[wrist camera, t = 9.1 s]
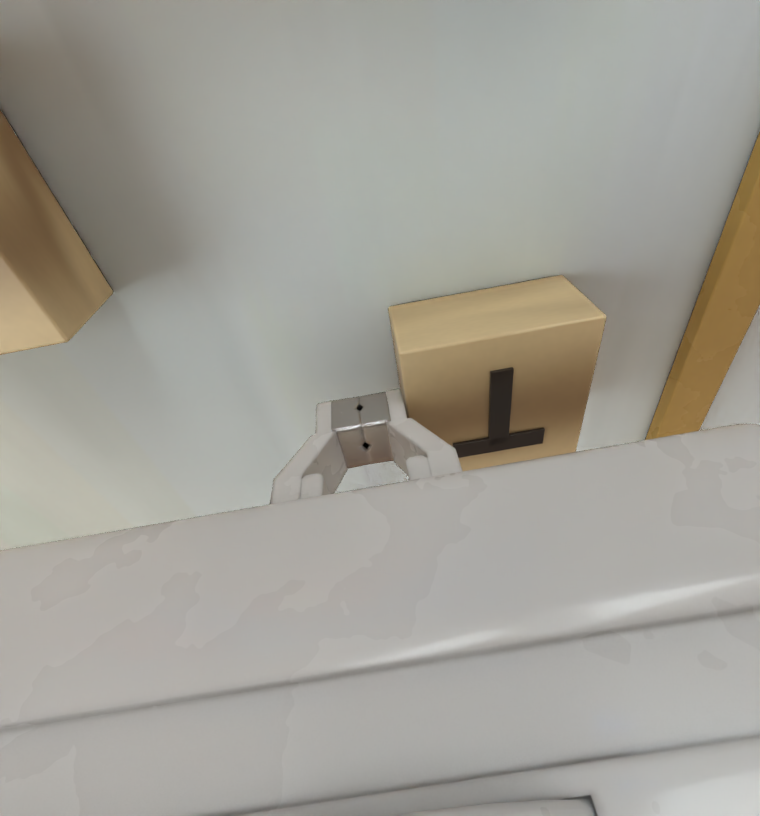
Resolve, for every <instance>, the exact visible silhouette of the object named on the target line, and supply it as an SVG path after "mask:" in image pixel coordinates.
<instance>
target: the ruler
mask: <svg viewBox="0 0 760 816" xmlns="http://www.w3.org/2000/svg"><path fill="white" fill-rule="evenodd" d="M759 305H760V132H759V134H758V137H757V140H756V143H755V145H754V148H753V151H752V153H751V156H750V159H749V161H748V164H747V167H746V169H745V172H744V175H743V178H742V180H741V183H740V186H739V188H738V191H737V194H736V196H735V199H734V202H733V204H732V207H731V210H730V213H729V215H728V218H727V221H726V223H725V226H724V229H723V231H722V234H721V237H720V239H719V242H718V245H717V248H716V250H715V253H714V256H713V258H712V261H711V264H710V266H709V269H708V272H707V274H706V277H705V280H704V282H703V285H702V288H701V291H700V293H699V296H698V299H697V301H696V304H695V307H694V309H693V312H692V315H691V317H690V320H689V323H688V326H687V328H686V331H685V334H684V336H683V339H682V342H681V344H680V347H679V350H678V352H677V355H676V358H675V361H674V363H673V366H672V369H671V371H670V374H669V377H668V379H667V382H666V385H665V387H664V390H663V393H662V396H661V398H660V401H659V404H658V406H657V409H656V412H655V414H654V417H653V420H652V422H651V425H650V428H649V431H648V433H647V436H646V439H645V440H648V439H654V438H660V437H666V436H671V435H677V434H683V433H689V432H694V431H699V429H700V427H701V425H702V423H703V421H704V419H705V417H706V415H707V413H708V411H709V408H710V406H711V404H712V402H713V400H714V398H715V396H716V394H717V392H718V390H719V388H720V386H721V384H722V382H723V379H724V377H725V375H726V373H727V371H728V369H729V367H730V365H731V363H732V361H733V359H734V357H735V355H736V353H737V350H738V348H739V346H740V344H741V342H742V340H743V338H744V336H745V334H746V332H747V330H748V328H749V326H750V324H751V321H752V319H753V317H754V315H755V313H756V311H757V309H758V307H759Z"/></svg>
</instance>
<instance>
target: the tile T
mask: <svg viewBox="0 0 760 816" xmlns="http://www.w3.org/2000/svg"><path fill="white" fill-rule="evenodd" d="M388 312H389V318H390V325H391V332H392V338H393V345H394V351H395V358H396V364H397V371H398V378H399V384H400V389H401V392H402V397H403V401H404V406H405V411H406V415H407V418H412V419H414V420H415V421H417V422H418V423H419V424H421V425H422V426H424V427H425V428H427V429H428V430H429V431H431V432H432V433H434V434H435V435H437V436H438V437H439V438H441V439H442V440H444V441H445V442H447V443H448V444H449V445H451V446H452V447H454V448H455V449H456V452H457V455H458V458H459V462H460V465H461V468H462V471H468V470H473V469H479V468H485V467H491V466H497V465H503V464H508V463H514V462H520V461H526V460H531V459H537V458H543V457H549V456H555V455H561V454H566V453H572V452H576V448H577V443H578V439H579V435H580V430H581V426H582V422H583V417H584V413H585V409H586V404H587V400H588V396H589V391H590V387H591V383H592V378H593V374H594V370H595V365H596V361H597V357H598V352H599V348H600V344H601V339H602V335H603V331H604V326H605V322H606V315H605V314H604V313H603V312H602V311H601V310H600V309H599V308H598V307H596V306H595V305H594V304H593V303H592V302H591V301H590V300H589V299H588V298H587V297H586V296H585V295H583V294H582V293H581V292H580V291H579V290H578V289H577V288H576V287H575V286H574V285H573V284H572V283H570V282H569V281H568V280H567V279H566V278H565V277H564V276H563V275H558V276H553V277H547V278H542V279H537V280H531V281H526V282H520V283H515V284H509V285H504V286H498V287H493V288H488V289H482V290H477V291H471V292H466V293H460V294H455V295H450V296H444V297H439V298H433V299H428V300H422V301H417V302H411V303H406V304H401V305H395V306H390V307H389V308H388Z"/></svg>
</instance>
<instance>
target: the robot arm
mask: <svg viewBox="0 0 760 816" xmlns="http://www.w3.org/2000/svg"><path fill="white" fill-rule="evenodd" d="M387 400H388V401H387ZM387 461H394V462H395V463H396V464H397V465H398V466H399V467H400V468H401V469H402V470H403V471H404V472H405V473H406V474H407V475H408V477H409V481H403V482H397V483H391V484H386V485H380V486H374V487H368V488H363V489H357V490H351V491H345V492H339V493H335V491H336V489H337V487H338V486H339V484H340V482H341V480H342V479H343V477H344V475H345V473H346V472H347V470H348V469H347V468H352V467H357V466H362V465H367V464H373V463H380V462H387ZM0 816H760V425H757V424H747V423H746V424H736V425H729V426H723V427H718V428H712V429H706V430H700V431H694V432H689V433H683V434H677V435H671V436H666V437H660V438H654V439H648V440H642V441H637V442H631V443H625V444H619V445H613V446H607V447H602V448H596V449H590V450H584V451H578V452H572V453H566V454H561V455H555V456H549V457H543V458H537V459H531V460H526V461H520V462H514V463H508V464H503V465H497V466H491V467H485V468H479V469H473V470H468V471H462V468H461V465H460V462H459V458H458V455H457V452H456V449H455V448H454V447H452V446H451V445H449V444H448V443H447V442H445V441H444V440H442V439H441V438H439V437H438V436H437V435H435V434H434V433H432V432H431V431H429V430H428V429H427V428H425V427H424V426H422V425H421V424H419V423H418V422H417V421H415V420H414V419H412V418H407V415H406V411H405V406H404V401H403V397H402V392H401V389H400V388H399V389H394V390H389V391H386V392H381V393H376V394H370V395H365V396H358V397H352V398H345V399H339V400H332V401H327V402H321V403H318V404H317V406H316V431H315V435H311V436H310V437H309V439H308V440H307V441H306V442H305V443H304V444H303V446H302V447H301V448H300V449H299V450H298V451H297V453H296V454H295V455H294V456H293V457H292V458H291V460H290V461H289V462H288V463H287V464H286V466H285V467H284V468H283V469H282V470H281V471H280V473H279V474H278V475H277V476H276V477H275V478H274V480H273V486H272V493H271V500H270V504H269V505H263V506H257V507H252V508H246V509H240V510H234V511H228V512H222V513H216V514H211V515H205V516H199V517H193V518H187V519H181V520H175V521H170V522H164V523H158V524H152V525H146V526H140V527H135V528H129V529H123V530H117V531H111V532H105V533H99V534H94V535H88V536H82V537H76V538H70V539H64V540H58V541H53V542H47V543H41V544H35V545H29V546H22V547H16V548H9V549H4V550H0Z"/></svg>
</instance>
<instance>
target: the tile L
mask: <svg viewBox="0 0 760 816" xmlns="http://www.w3.org/2000/svg"><path fill="white" fill-rule="evenodd" d="M112 294H113V291H112V289H111V288H110V286H109V285H108V283H107V281H106V280H105V278H104V276H103V275H102V273H101V272H100V270H99V268H98V267H97V265H96V264H95V262H94V260H93V259H92V257H91V255H90V254H89V252H88V251H87V249H86V247H85V246H84V244H83V242H82V241H81V239H80V238H79V236H78V234H77V233H76V231H75V230H74V228H73V226H72V225H71V223H70V221H69V220H68V218H67V217H66V215H65V213H64V212H63V210H62V209H61V207H60V205H59V204H58V202H57V200H56V199H55V197H54V196H53V194H52V192H51V191H50V189H49V188H48V186H47V184H46V183H45V181H44V179H43V178H42V176H41V175H40V173H39V171H38V170H37V168H36V166H35V165H34V163H33V162H32V160H31V158H30V157H29V155H28V154H27V152H26V150H25V149H24V147H23V145H22V144H21V142H20V141H19V139H18V137H17V136H16V134H15V133H14V131H13V129H12V128H11V126H10V124H9V123H8V121H7V120H6V118H5V116H4V115H3V113H2V112H1V110H0V355H2V354H7V353H12V352H17V351H23V350H28V349H33V348H38V347H44V346H49V345H54V344H59V343H64V342H68V341H69V340H70V339H71V338H72V337H73V336H74V335H75V334H76V333H77V332H78V331H79V330H80V328H81V327H82V326H83V325H84V324H85V323H86V322H87V321H88V320H89V319H90V318H91V317H92V315H93V314H94V313H95V312H96V311H97V310H98V309H99V308H100V307H101V306H102V305H103V304H104V303H105V301H106V300H107V299H108V298H109V297H110V296H111V295H112Z"/></svg>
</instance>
